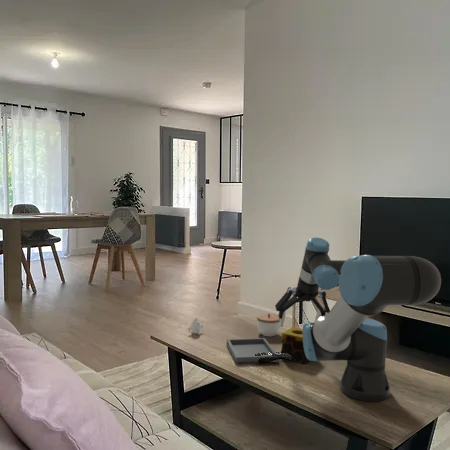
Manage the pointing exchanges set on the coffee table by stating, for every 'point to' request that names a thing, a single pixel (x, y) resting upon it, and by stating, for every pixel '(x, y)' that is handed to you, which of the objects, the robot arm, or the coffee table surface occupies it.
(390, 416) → the coffee table surface
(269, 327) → the lidded jar
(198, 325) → the rocket toy
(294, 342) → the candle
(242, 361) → the tray
